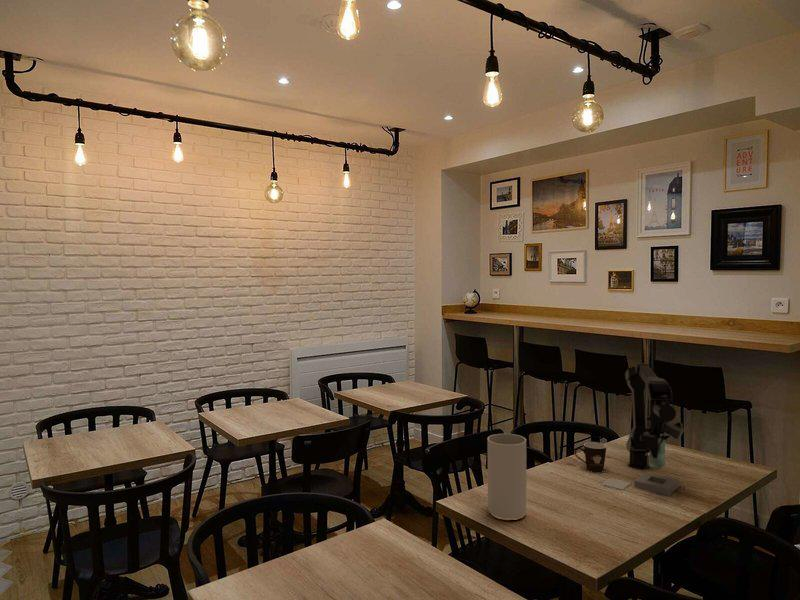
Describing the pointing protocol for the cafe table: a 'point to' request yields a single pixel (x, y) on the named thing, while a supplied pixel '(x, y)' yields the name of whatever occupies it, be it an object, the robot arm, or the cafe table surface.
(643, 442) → the robot arm
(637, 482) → the pocket plate
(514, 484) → the cylinder vase
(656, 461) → the peg
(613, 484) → the mat
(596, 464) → the coffee mug
